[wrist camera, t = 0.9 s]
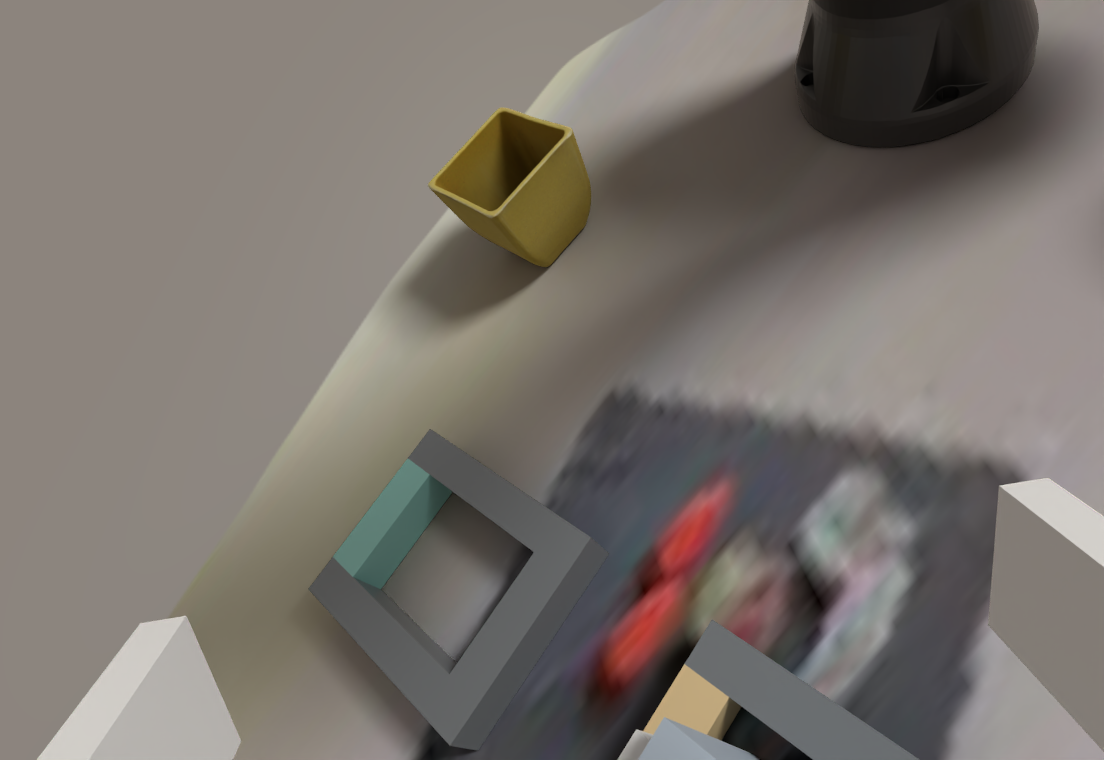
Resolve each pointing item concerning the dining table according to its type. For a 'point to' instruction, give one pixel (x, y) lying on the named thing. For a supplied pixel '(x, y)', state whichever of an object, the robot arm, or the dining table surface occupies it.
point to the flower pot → (519, 185)
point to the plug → (680, 745)
